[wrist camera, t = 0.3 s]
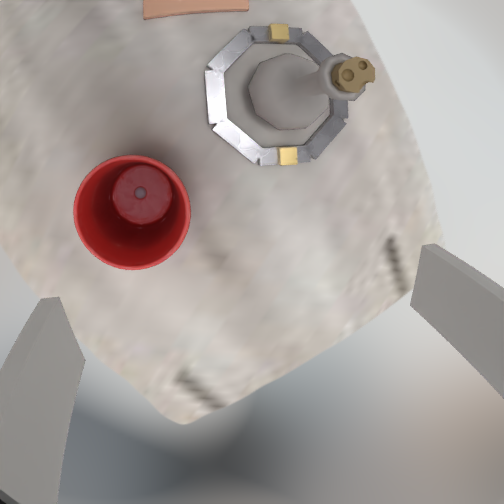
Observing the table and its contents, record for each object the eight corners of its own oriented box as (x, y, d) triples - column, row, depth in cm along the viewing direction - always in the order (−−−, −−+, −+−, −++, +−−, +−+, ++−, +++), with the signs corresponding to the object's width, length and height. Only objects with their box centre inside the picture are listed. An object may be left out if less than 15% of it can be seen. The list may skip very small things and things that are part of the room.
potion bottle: (327, 96, 34) (427, 88, 18) (279, 144, 36) (357, 163, 19) (278, 45, 31) (355, -6, 14) (226, 93, 32) (267, 63, 16)
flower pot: (108, 139, 31) (83, 144, 22) (199, 159, 34) (204, 170, 26) (92, 225, 34) (67, 257, 26) (176, 243, 38) (176, 280, 29)
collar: (201, 30, 28) (202, 25, 26) (338, 34, 31) (346, 30, 29) (212, 169, 35) (214, 172, 33) (345, 159, 38) (354, 161, 36)
